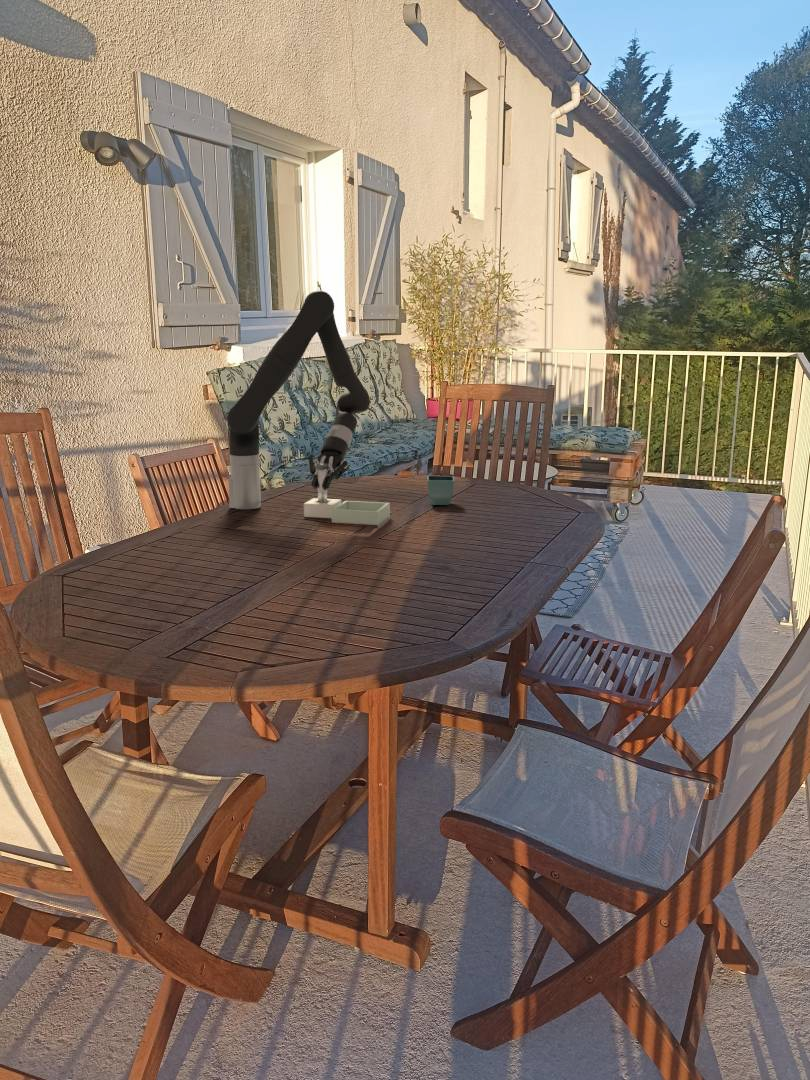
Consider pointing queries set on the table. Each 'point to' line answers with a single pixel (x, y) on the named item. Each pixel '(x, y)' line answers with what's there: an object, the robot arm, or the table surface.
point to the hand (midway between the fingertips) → (319, 487)
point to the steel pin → (321, 482)
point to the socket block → (320, 508)
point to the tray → (361, 513)
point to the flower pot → (440, 489)
